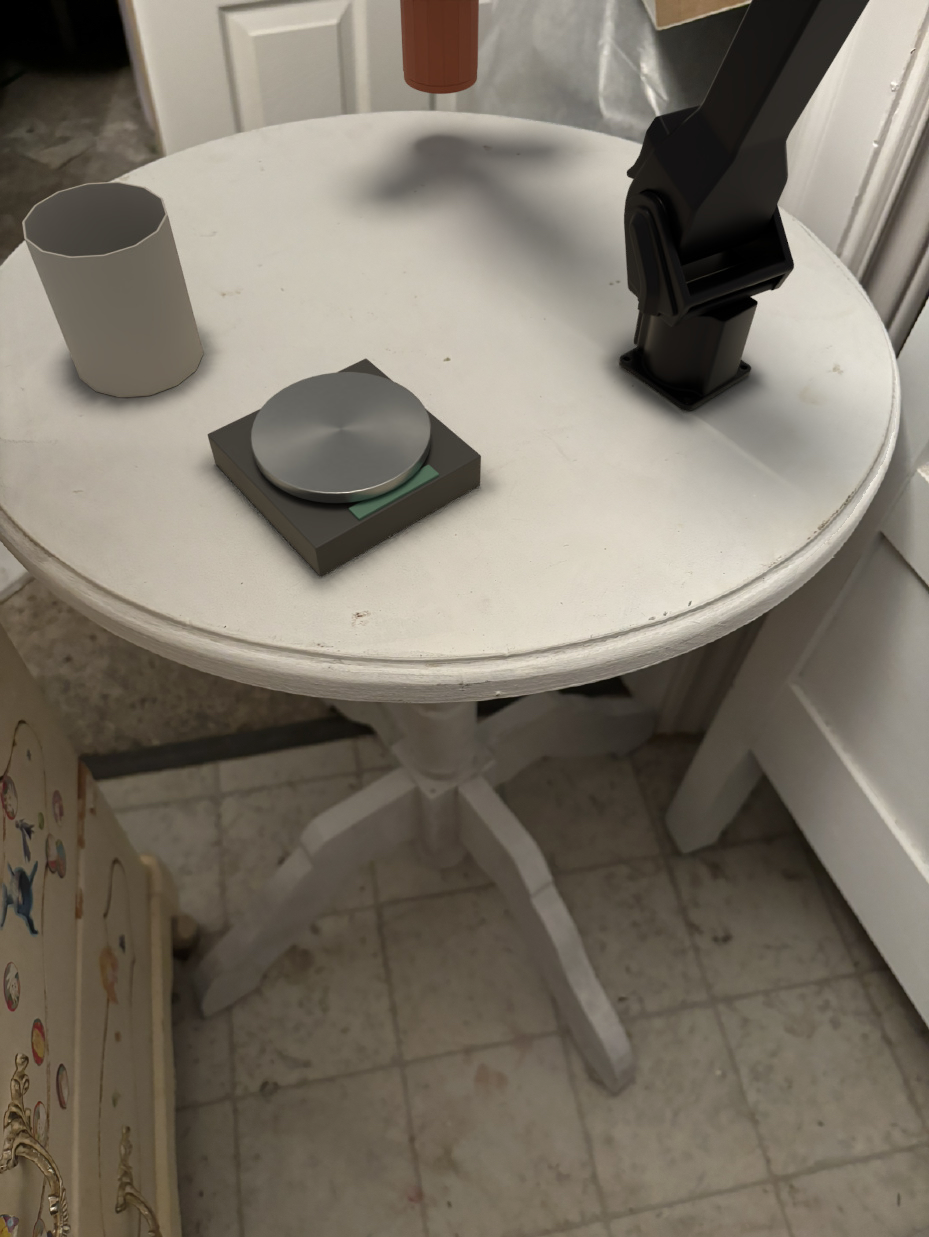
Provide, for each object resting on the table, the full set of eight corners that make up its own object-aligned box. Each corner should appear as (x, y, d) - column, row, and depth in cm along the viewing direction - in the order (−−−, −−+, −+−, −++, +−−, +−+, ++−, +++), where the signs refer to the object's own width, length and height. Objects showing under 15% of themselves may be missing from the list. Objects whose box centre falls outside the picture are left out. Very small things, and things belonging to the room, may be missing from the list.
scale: (480, 485, 56) (481, 452, 54) (320, 577, 52) (314, 546, 50) (368, 387, 62) (365, 354, 59) (215, 463, 57) (205, 431, 55)
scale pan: (467, 449, 54) (467, 438, 53) (317, 532, 50) (315, 521, 49) (363, 360, 59) (362, 350, 58) (219, 429, 55) (216, 419, 54)
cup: (52, 380, 62) (-8, 241, 54) (118, 310, 66) (72, 172, 58) (165, 408, 60) (120, 269, 52) (224, 334, 65) (192, 196, 57)
